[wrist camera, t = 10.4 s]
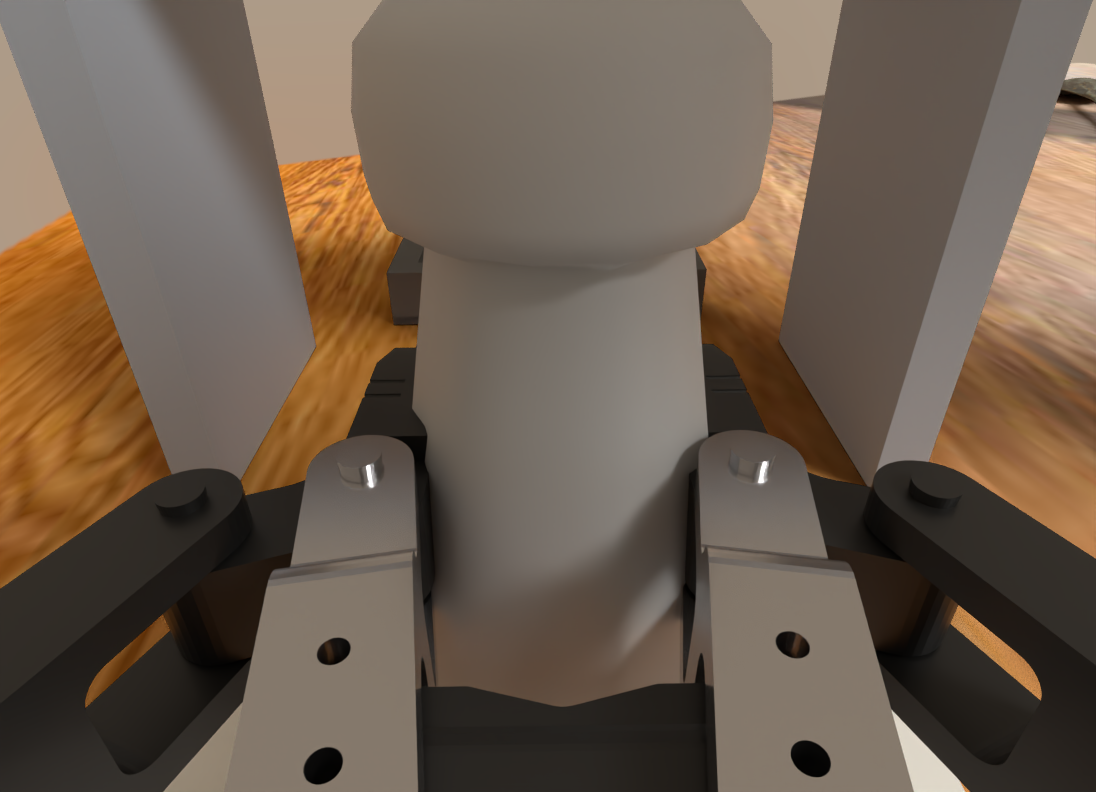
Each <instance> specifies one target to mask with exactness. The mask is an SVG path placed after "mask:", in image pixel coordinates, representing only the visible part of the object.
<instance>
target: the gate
mask: <svg viewBox="0 0 1096 792" xmlns="http://www.w3.org/2000/svg"><path fill="white" fill-rule="evenodd" d="M1092 1H1093V0H843V3H842V8H841V13H840V19H839V24H838V29H837V35H836V40H835V45H834V50H833V55H832V61H831V66H830V71H829V77H828V82H827V87H826V92H825V98H824V103H823V108H822V114H821V119H820V124H819V129H818V135H817V140H816V145H815V151H814V156H813V161H812V166H811V172H810V177H809V182H808V188H807V193H806V198H805V203H804V209H803V214H802V219H801V225H800V230H799V235H798V240H797V246H796V251H795V256H794V262H793V267H792V272H791V277H790V283H789V288H788V293H787V299H786V304H785V309H784V314H783V320H782V325H781V330H780V336H779V342H780V344H781V346H782V347H783V349H784V350H785V352H786V354H787V355H788V357H789V359H790V360H791V362H792V364H793V365H794V367H795V368H796V370H797V372H798V373H799V375H800V377H801V378H802V380H803V382H804V383H805V385H806V387H807V388H808V390H809V391H810V393H811V395H812V396H813V398H814V400H815V401H816V403H817V405H818V406H819V408H820V409H821V411H822V413H823V414H824V416H825V418H826V419H827V421H828V423H829V424H830V426H831V428H832V429H833V431H834V432H835V434H836V436H837V437H838V439H839V441H840V442H841V444H842V446H843V447H844V449H845V451H846V452H847V454H848V455H849V457H850V459H851V460H852V462H853V464H854V465H855V467H856V469H857V470H858V472H859V473H860V475H861V477H862V478H863V480H864V482H865V483H866V485H867V486H868V487H871V485H872V482H873V479H874V475H875V473H876V472H877V471H878V469H880V468H881V467H882V466H884V465H886V464H889V463H892V462H896V461H904V460H916V461H925V462H928V461H929V459H930V456H931V453H932V450H933V447H934V445H935V442H936V439H937V436H938V433H939V431H940V428H941V425H942V422H943V419H944V416H945V414H946V411H947V408H948V405H949V402H950V400H951V397H952V394H953V391H954V388H955V386H956V383H957V380H958V377H959V374H960V372H961V369H962V366H963V363H964V360H965V358H966V355H967V352H968V349H969V346H970V343H971V341H972V338H973V335H974V332H975V329H976V327H977V324H978V321H979V318H980V315H981V313H982V310H983V307H984V304H985V301H986V299H987V296H988V293H989V290H990V287H991V284H992V282H993V279H994V276H995V273H996V270H997V268H998V265H999V262H1000V259H1001V256H1002V254H1003V251H1004V248H1005V245H1006V242H1007V240H1008V237H1009V234H1010V231H1011V228H1012V226H1013V223H1014V220H1015V217H1016V214H1017V211H1018V209H1019V206H1020V203H1021V200H1022V197H1023V195H1024V192H1025V189H1026V186H1027V183H1028V181H1029V178H1030V175H1031V172H1032V169H1033V167H1034V164H1035V161H1036V158H1037V155H1038V152H1039V150H1040V147H1041V144H1042V141H1043V138H1044V136H1045V133H1046V130H1047V127H1048V124H1049V122H1050V119H1051V116H1052V113H1053V110H1054V108H1055V105H1056V102H1057V99H1058V96H1059V93H1060V91H1061V88H1062V85H1063V82H1064V79H1065V77H1066V74H1067V71H1068V68H1069V65H1070V63H1071V60H1072V57H1073V54H1074V51H1075V49H1076V46H1077V43H1078V40H1079V37H1080V35H1081V32H1082V29H1083V26H1084V23H1085V20H1086V17H1087V15H1088V12H1089V9H1090V6H1091V4H1092ZM0 23H1V26H2V28H3V31H4V34H5V36H6V39H7V42H8V44H9V47H10V50H11V52H12V55H13V58H14V60H15V63H16V65H17V68H18V70H19V73H20V76H21V79H22V81H23V84H24V87H25V89H26V92H27V94H28V97H29V100H30V102H31V105H32V107H33V110H34V113H35V116H36V118H37V121H38V123H39V126H40V129H41V131H42V134H43V136H44V139H45V142H46V144H47V147H48V150H49V152H50V155H51V158H52V160H53V163H54V165H55V168H56V171H57V173H58V176H59V179H60V181H61V184H62V186H63V189H64V192H65V194H66V197H67V200H68V202H69V205H70V208H71V210H72V213H73V216H74V218H75V221H76V224H77V226H78V229H79V231H80V234H81V237H82V239H83V242H84V245H85V247H86V250H87V253H88V255H89V258H90V260H91V263H92V266H93V268H94V271H95V274H96V276H97V279H98V282H99V284H100V287H101V289H102V292H103V295H104V297H105V300H106V303H107V305H108V308H109V311H110V313H111V316H112V318H113V321H114V324H115V326H116V329H117V332H118V334H119V337H120V340H121V342H122V345H123V347H124V350H125V353H126V355H127V358H128V361H129V363H130V366H131V369H132V371H133V374H134V376H135V379H136V382H137V384H138V387H139V390H140V392H141V395H142V398H143V400H144V403H145V405H146V408H147V411H148V413H149V416H150V419H151V421H152V424H153V426H154V429H155V432H156V434H157V437H158V440H159V442H160V445H161V448H162V450H163V453H164V455H165V458H166V461H167V463H168V466H169V469H170V471H171V474H175V473H179V472H182V471H187V470H192V469H200V468H213V469H220V470H225V471H228V472H230V473H232V474H234V475H235V476H237V477H238V479H239V480H241V478H242V476H243V475H244V473H245V471H246V469H247V468H248V466H249V464H250V462H251V461H252V459H253V457H254V455H255V453H256V452H257V450H258V448H259V446H260V445H261V443H262V441H263V439H264V438H265V436H266V434H267V432H268V431H269V429H270V427H271V425H272V423H273V422H274V420H275V418H276V416H277V415H278V413H279V411H280V409H281V408H282V406H283V404H284V402H285V401H286V399H287V397H288V395H289V393H290V392H291V390H292V388H293V386H294V385H295V383H296V381H297V379H298V378H299V376H300V374H301V372H302V370H303V369H304V367H305V365H306V363H307V362H308V360H309V358H310V356H311V355H312V353H313V351H314V349H315V348H316V343H315V338H314V334H313V329H312V324H311V320H310V315H309V310H308V305H307V301H306V296H305V291H304V286H303V282H302V277H301V272H300V268H299V263H298V258H297V253H296V249H295V244H294V239H293V234H292V230H291V225H290V220H289V216H288V211H287V206H286V201H285V197H284V192H283V187H282V182H281V178H280V173H279V168H278V164H277V159H276V154H275V150H274V145H273V140H272V136H271V130H270V126H269V121H268V117H267V112H266V107H265V102H264V97H263V93H262V88H261V83H260V79H259V74H258V69H257V65H256V60H255V55H254V50H253V45H252V41H251V36H250V31H249V27H248V22H247V17H246V13H245V8H244V3H243V0H0Z"/></svg>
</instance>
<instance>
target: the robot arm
mask: <svg viewBox="0 0 1096 792" xmlns="http://www.w3.org/2000/svg"><path fill="white" fill-rule="evenodd" d="M416 350H417V346H416V348H394V349H393V350H392V351H391V352H390V353H388V354H387V355H386V356H385V357H384V358H382V359H381V360H380V361H379V362H378V363H377V364H376V367H375V369H374V372H373V374H372V377H371V379H370V383H369V384H368V386H367V389H366V391H365V398H363V399H362V401H361V404H360V406H359V409H358V411H357V414H356V416H355V419H354V421H353V424H352V426H351V429H350V431H349V433H348V436H347V438H346V439H345V440H342V441H339V442H337V443H334V444H332V445H330V446H329V447H327V448H325V449H324V450H322V451H321V452H320V453H319V454H317V455H316V457H315V458H314V459H313V460H312V461H311V463H310V465H309V467H308V470H307V475H306V480H304V481H302V482H299V483H296V484H293V485H289V486H285V487H281V488H277V489H272V490H268V491H263V492H259V493H254V494H250V495H245V493H244V489H243V486H242V484H241V481H240V480H239V479H238V477H237V476H235V475H234V474H232V473H230V472H228V471H225V470H220V469H213V468H200V469H192V470H187V471H182V472H179V473H175V474H172V475H169V476H167V477H164V478H162V479H160V480H158V481H156V482H154V483H152V484H150V485H149V486H147V487H145V488H144V489H142V490H141V491H139V492H138V493H137V494H135V495H134V496H132V497H131V498H129V499H128V500H127V501H125V502H124V503H122V504H121V505H119V506H118V507H117V508H115V509H114V510H112V511H111V512H109V513H108V514H107V515H105V516H104V517H102V518H101V519H99V520H98V521H97V522H95V523H94V524H92V525H91V526H89V527H88V528H87V529H85V530H84V531H82V532H81V533H79V534H78V535H77V536H75V537H74V538H72V539H71V540H69V541H68V542H67V543H65V544H64V545H62V546H61V547H59V548H58V549H57V550H55V551H54V552H52V553H51V554H49V555H48V556H47V557H45V558H44V559H42V560H41V561H39V562H38V563H37V564H35V565H34V566H32V567H31V568H29V569H28V570H27V571H25V572H24V573H22V574H21V575H19V576H18V577H17V578H15V579H14V580H12V581H11V582H9V583H8V584H7V585H5V586H4V587H2V588H1V589H0V792H163V791H164V790H165V789H166V788H167V787H168V786H169V785H170V783H171V782H172V781H173V780H174V779H175V778H176V777H177V776H178V774H179V773H180V772H181V771H182V770H183V769H184V768H185V767H186V765H187V764H188V763H189V762H190V761H191V760H192V759H193V758H194V756H195V755H196V754H197V753H198V752H199V751H200V750H201V749H202V747H203V746H204V745H205V744H206V743H207V742H208V741H209V740H210V738H211V737H212V736H213V735H214V734H215V733H216V732H217V731H218V729H219V728H220V727H221V726H222V725H223V724H224V723H225V722H226V720H227V719H228V718H229V717H230V716H231V715H232V714H233V713H234V711H235V710H236V709H237V708H238V707H239V706H240V705H241V704H242V708H241V713H240V718H239V723H238V727H237V732H236V737H235V742H234V747H233V751H232V756H231V761H230V766H229V771H228V775H227V780H226V785H225V790H224V792H914V790H913V786H912V783H911V779H910V776H909V772H908V768H907V765H906V761H905V757H904V754H903V750H902V746H901V743H900V739H899V736H898V732H897V728H896V725H895V721H894V717H893V714H892V711H893V712H894V713H895V714H896V715H897V716H898V717H899V718H900V719H901V720H902V721H903V722H904V723H905V724H906V725H907V726H908V727H909V728H910V729H911V730H912V732H913V733H914V734H915V735H916V736H917V737H918V738H919V739H920V740H921V741H922V742H923V743H924V744H925V745H926V746H927V747H928V748H929V749H930V750H931V751H932V752H933V753H934V754H935V755H936V756H937V758H938V759H939V760H940V761H941V762H942V763H943V764H944V765H945V766H946V767H947V768H948V769H949V770H950V771H951V772H952V773H953V774H954V775H955V776H956V777H957V778H958V779H959V780H960V781H961V782H962V784H963V785H964V786H965V787H966V788H967V789H968V790H969V791H970V792H1096V559H1095V558H1094V557H1092V556H1091V555H1089V554H1088V553H1086V552H1084V551H1083V550H1081V549H1080V548H1078V547H1077V546H1075V545H1074V544H1072V543H1070V542H1069V541H1067V540H1066V539H1064V538H1063V537H1061V536H1060V535H1058V534H1057V533H1055V532H1053V531H1052V530H1050V529H1049V528H1047V527H1046V526H1044V525H1043V524H1041V523H1040V522H1038V521H1036V520H1035V519H1033V518H1032V517H1030V516H1029V515H1027V514H1026V513H1024V512H1022V511H1021V510H1019V509H1018V508H1016V507H1015V506H1013V505H1012V504H1010V503H1009V502H1007V501H1005V500H1004V499H1002V498H1001V497H999V496H998V495H996V494H995V493H993V492H992V491H990V490H988V489H987V488H985V487H984V486H982V485H981V484H979V483H978V482H976V481H975V480H973V479H971V478H970V477H968V476H966V475H964V474H962V473H960V472H958V471H956V470H954V469H951V468H948V467H946V466H942V465H939V464H935V463H930V462H925V461H916V460H904V461H896V462H892V463H889V464H886V465H884V466H882V467H881V468H880V469H878V471H877V472H876V473H875V475H874V479H873V482H872V485H871V487H868V486H862V485H857V484H852V483H847V482H842V481H836V480H832V479H827V478H823V477H820V476H817V475H814V474H811V473H809V472H807V468H806V464H805V462H804V459H803V457H802V456H801V455H800V453H799V452H798V451H797V450H796V449H795V448H794V447H792V446H791V445H790V444H788V443H787V442H785V441H783V440H781V439H779V438H777V437H774V436H772V435H769V434H768V433H767V431H766V429H765V427H764V425H763V423H762V421H761V419H760V416H759V414H758V412H757V410H756V408H755V406H754V404H753V402H752V400H751V398H750V395H749V393H747V392H746V387H745V385H744V383H743V381H742V379H740V375H739V372H738V370H737V368H736V366H735V364H734V362H733V360H732V358H731V357H729V356H728V355H727V354H725V353H724V352H723V351H721V350H720V349H719V348H717V347H716V346H715V345H713V344H702V354H703V369H704V383H705V398H706V412H707V426H708V439H706V440H705V441H704V442H703V444H702V445H701V447H700V449H699V454H698V462H697V469H695V470H694V471H692V472H691V473H689V488H688V512H687V536H686V561H685V584H684V585H683V592H682V603H681V614H680V683H663V684H654V685H650V686H646V687H642V688H639V689H635V690H631V691H627V692H623V693H619V694H615V695H612V696H608V697H604V698H600V699H596V700H592V701H588V702H585V703H581V704H577V705H573V706H567V707H559V706H552V705H548V704H544V703H539V702H535V701H530V700H526V699H522V698H517V697H513V696H508V695H504V694H500V693H495V692H491V691H486V690H482V689H478V688H473V687H469V686H451V687H439V685H438V667H437V649H436V632H435V614H434V602H433V593H432V587H433V584H434V580H435V564H434V548H433V533H432V518H431V502H430V487H429V472H428V471H427V468H426V464H425V455H426V446H427V437H428V435H427V432H426V428H425V425H424V424H423V423H422V421H421V420H420V419H419V417H418V416H417V415H416V413H415V412H414V410H413V409H412V404H413V390H414V377H415V363H416ZM958 605H959V606H961V607H962V608H963V609H964V610H966V611H967V612H968V613H969V614H970V615H972V616H973V617H974V618H975V619H977V620H978V621H979V622H980V623H981V624H983V625H984V626H985V627H986V628H988V629H989V630H990V631H991V632H992V633H994V634H995V635H996V636H997V637H999V638H1000V639H1001V640H1002V641H1003V642H1005V643H1006V644H1007V645H1008V646H1010V647H1011V648H1012V649H1013V650H1014V651H1016V652H1017V653H1018V654H1019V655H1020V656H1021V657H1023V658H1024V659H1025V660H1026V662H1027V663H1028V664H1029V665H1030V666H1031V668H1032V669H1033V671H1034V672H1035V674H1036V676H1037V678H1038V680H1039V683H1040V686H1041V691H1042V698H1041V701H1040V700H1039V699H1038V698H1037V697H1036V696H1034V695H1033V694H1032V693H1031V692H1030V691H1028V690H1027V689H1026V688H1025V687H1024V686H1023V685H1021V684H1020V683H1019V682H1018V681H1017V680H1016V679H1014V678H1013V677H1012V676H1011V675H1010V674H1009V673H1007V672H1006V671H1005V670H1004V669H1003V668H1001V667H1000V666H999V665H998V664H997V663H996V662H994V661H993V660H992V659H991V658H990V657H989V656H987V655H986V654H985V653H984V652H983V651H981V650H980V649H979V648H978V647H977V646H976V645H974V644H973V643H972V642H971V641H970V640H969V639H967V638H966V637H965V636H964V635H963V634H962V633H960V632H959V631H958V630H957V629H956V628H954V627H953V626H952V625H951V624H950V623H951V621H952V619H953V616H954V614H955V612H956V609H957V607H958ZM162 614H163V615H164V617H165V620H166V622H167V624H168V626H169V629H170V631H169V632H168V633H167V634H166V635H165V636H164V637H163V638H162V639H160V640H159V641H158V642H157V643H156V644H155V645H154V646H153V647H152V648H151V649H150V650H148V651H147V652H146V653H145V654H144V655H143V656H142V657H141V658H140V659H139V660H138V661H136V662H135V663H134V664H133V665H132V666H131V667H130V668H129V669H128V670H127V671H126V672H125V673H123V674H122V675H121V676H120V677H119V678H118V679H117V680H116V681H115V682H114V683H113V684H111V685H110V686H109V687H108V688H107V689H106V690H105V691H104V692H103V693H102V694H101V695H99V696H98V697H97V698H96V699H95V700H94V701H93V702H92V703H91V704H90V705H89V706H87V707H86V708H85V699H86V695H87V692H88V689H89V687H90V685H91V683H92V681H93V679H94V678H95V676H96V675H97V674H98V672H99V671H100V670H101V669H102V668H103V667H104V666H105V665H106V664H107V663H108V662H109V661H110V660H112V659H113V658H114V657H115V656H116V655H117V654H118V653H119V652H121V651H122V650H123V649H124V648H125V647H126V646H127V645H128V644H130V643H131V642H132V641H133V640H134V639H135V638H136V637H137V636H139V635H140V634H141V633H142V632H143V631H144V630H145V629H147V628H148V627H149V626H150V625H151V624H152V623H153V622H154V621H156V620H157V619H158V618H159V617H160V616H161V615H162ZM242 702H243V703H242Z"/></svg>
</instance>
